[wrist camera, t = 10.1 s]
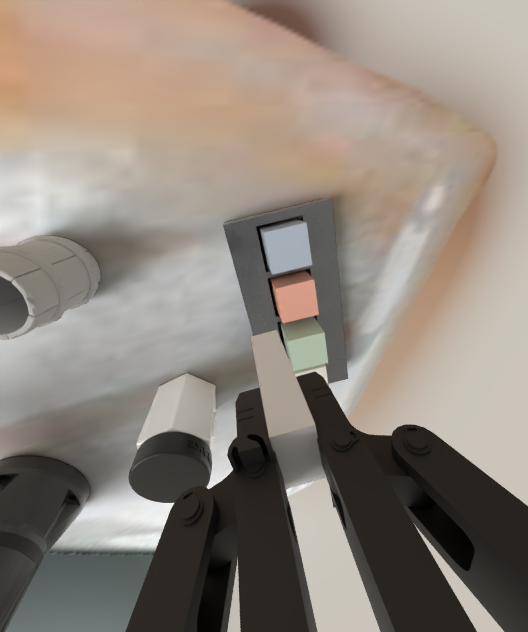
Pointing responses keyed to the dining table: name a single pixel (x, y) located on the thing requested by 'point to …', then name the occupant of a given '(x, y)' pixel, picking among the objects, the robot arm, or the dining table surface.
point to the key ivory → (319, 369)
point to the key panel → (321, 270)
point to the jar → (176, 440)
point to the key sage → (304, 343)
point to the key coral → (294, 296)
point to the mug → (43, 282)
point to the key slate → (286, 246)
